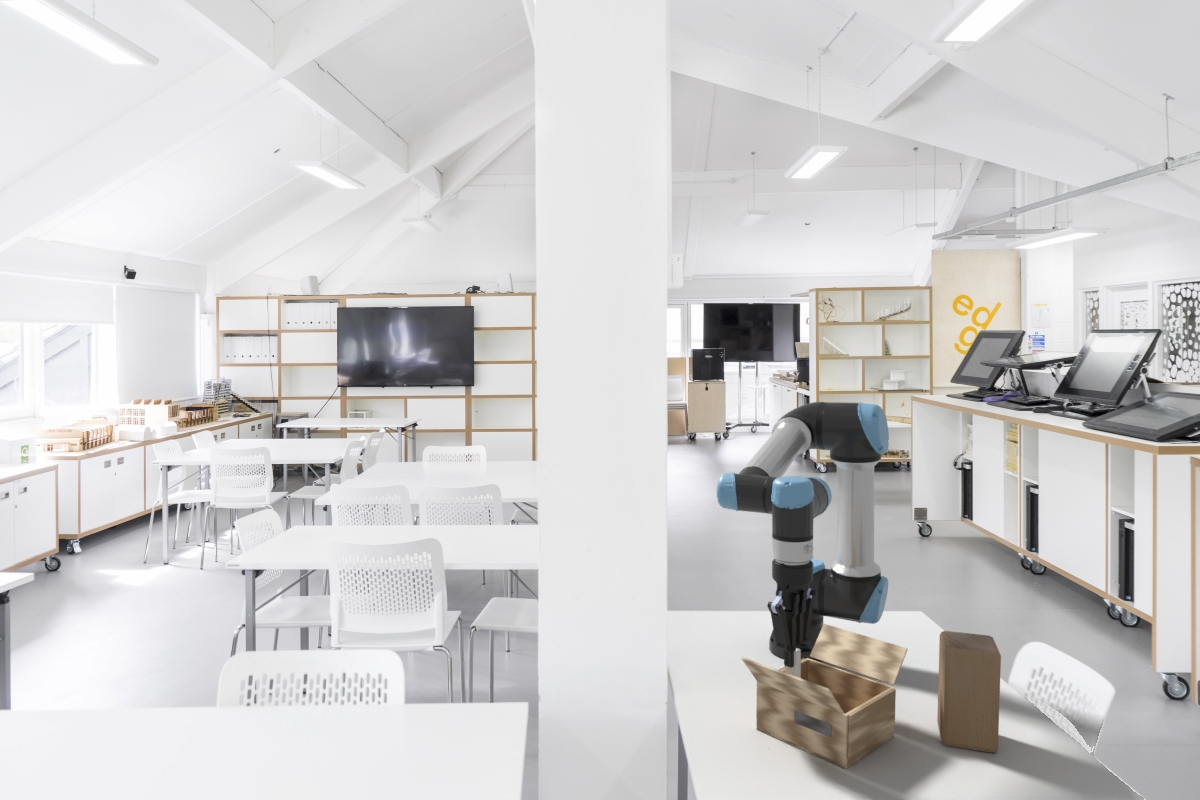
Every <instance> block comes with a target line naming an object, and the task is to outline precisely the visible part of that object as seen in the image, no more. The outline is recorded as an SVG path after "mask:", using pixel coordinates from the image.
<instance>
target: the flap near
mask: <svg viewBox="0 0 1200 800" xmlns="http://www.w3.org/2000/svg"><path fill="white" fill-rule="evenodd" d="M741 661H742V662H743V663H744V665H745V666H746V667H747V669H748V670H749V672H750V673H751V674H752V676H753V677H754V679H755V681H756V682H757V681H758V682H760V683H763V684H765V685H768V686H770V687H773V688H776V689H778V690H781V691H783V692H786V693H788V694H791V695H794V696H796V697H799V698H801V699H804V700H806V701H809V702H812V703H814V704H817V705H819V706H822V707H825V708H827V709H830V710H832V711H835V712H837V713H840V714H844V712H843V710H842V709H841V707H840V706H839V704H838V702H837V701H836V699H835V698H834V696H833V694H832V693H831V691H830V690H829V689H828V688H826V687H823V686H820V685H817V684H815V683H812V682H809V681H807V680H804V679H801V678H798V677H796V676H793V675H790V674H787V673H785V672H782V671H779V669H776V668H773V667H771V666H768V665H766V664H763V663H760V662H757V661H754V660H751V659H749V658H746V657H744V656H742V657H741Z"/></svg>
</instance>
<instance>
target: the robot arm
mask: <svg viewBox="0 0 1200 800" xmlns="http://www.w3.org/2000/svg"><path fill="white" fill-rule="evenodd" d="M889 437H890V434H889V425H888V420H887V417H886V414H885V412H884V410H883V408H882V407H881V406H880V405H878V404H873V403H864V402H842V401H841V402H838V401H837V402H836V401H834V402H831V401H829V402H827V401H826V402H825V401H815V402H809V403H805V404H803V405H800V406H798V407H796V408H794V409H791V410H790V411H788V412H787V413H786V414H784V415H782V416H781V417H780V418H779V419H778V420H777V422H776V423H774V425H773V427H772V430H771V434H770V436H769V438H767V440H766V441H765V443H764V444H763V445H762V446H760V448H759V449H758V450H757V451H756V453H755V454H754V455H753V456H752V457H751V459H750V460H749V461H748V462H747V463H746V465H745V466H744V467H743V468H742V470H741V471H740V472H739V473H735V472H729V473H728V472H726V473H723V474H721V476H720V477H719V479H718V481H717V485H716V498H717V499H716V500H717V502H718V504H719V506H720V507H721V508H723V509H726V510H731V511H735V512H738V511H739V512H746V513H747V512H750V513H757V514H759V513H760V514H769V515H771V524H772V525H771V528H772V529H771V533H772V534H771V557H772V558H773V559H772V561H771V572H772V573H771V577H772V579H773V581H775V583H776V590H775V596H776V597H775V599H774V600H773V602H772V601H768V603H767V609H768V610H769V613H770V616H771V623H772V627H773V628H772V632H771V634H770V637H769V639H768V640H769V643H768V644H769V645H768V646H769V647H768V649H769V651H770V652H771V653H772V654H773V655H775V656H776V657H779V658H781V659H783V664H784V667H785V673H787V674H790V675H793V676H796V677H798V678H801V659H803V658H805V659H807V658H809V659H812V660H815V661H818V662H821V660H818V659H815V658H812V657H810V654H811V652H812V650H813V647H814V645H815V643H816V640H817V638H818V636H819V633H820V631H821V629H822V627H823V624H824V617H828V618H832V619H833V618H834V619H840V620H845V621H850V622H856V623H858V624H861V623H862V624H869V625H870V624H871V625H872V624H873V625H875V624H877V623H878V622H879V621H880V620H881V618H882V616H883V613H884V610H885V605H886V603H887V602H886V601H887V598H888V597H887V596H888V592H889V579H888V577H885V576H884V575H882V574H881V573H882V570H881V566H880V565H878V563H876V562H875V466H877V465H878V463H880V462H881V461H882V455H884V454H886V453H887V452H888V450H889V446H890V445H889V439H890V438H889ZM808 450H823V451H829V455H830V456H829V459H830V461H832V462H833V463H834V465H836V466H835V467H836V519H837V520H836V540H837V541H836V547H837V548H836V550H837V551H836V553H837V554H836V555H837V556H836V559H835V560H834V561H833V562H832V563H831V564H830V568H826V565H825V563H824V561H822V560H819V559H816V558H814V519H815V518H817V517H819V516H820V515H823V513H825V512H826V510H827V509H828V507H829V506H830V504H831V502H832V498H833V495H832V490H831V488H830V486H829V485H828V483H827V482H826V481H825V480H823V479H822V478H820V477H817V476H797V475H787V476H785V475H784V474H785V473H786V472H787V471H788V469H789V468H790V466H791V465H792V463H793V462H794V461H795V460H796V458H797V457H798V456H799V455H802V454H804V453H806V451H808Z"/></svg>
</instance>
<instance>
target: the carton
mask: <svg viewBox="0 0 1200 800" xmlns="http://www.w3.org/2000/svg"><path fill="white" fill-rule="evenodd" d="M778 670H779V671H782V672H785V666H783V667H782V668H779V669H778ZM801 679H804V680H807V681H809V682H812V683H815V684H817V685H820V686H823V687H826V688H828V689H829V690H830V691H831V693H832V694H833V696H834V698H835V699H836V701H837V702H838V704H839V706H840V707H841V709H842V710H843V712H844V714H840V713H837V712H835V711H832V710H830V709H827V708H825V707H822V706H819V705H817V704H814V703H812V702H809V701H806V700H804V699H801V698H799V697H796V696H794V695H791V694H788V693H786V692H783V691H781V690H778V689H776V688H773V687H770V686H768V685H765V684H763V683H760V682H758V681H757V680H756V714H755V715H756V717H755V718H756V728H755V729H756V730H757V731H760V732H762V733H764V734H766V735H768V736H770V737H773V738H775V739H777V740H780V741H782V742H783V743H786V744H788V745H791V746H793V747H795V748H797V749H800V750H802V751H804V752H806V753H808V754H811V755H813V756H815V757H818V758H820V759H822V760H825V761H826V762H828V763H831V764H834V765H836V766H837V767H840V768H842V769H844V770H846V769H848V768H849V767H850V766H852V765H854V764H855V763H857V762H858V761H860V760H861V759H862V758H864V757H866V756H867V755H869V754H870V753H872V752H873V751H874V750H876V749H878V748H879V747H881V746H882V745H883V744H885V743H886V742H888V741H889V740H891V739H892V738H894V734H895V729H896V722H895V721H896V699H897V698H896V693H897V689H896V688H895V687H894V686H891V685H888V684H885V683H882V682H879V681H876V680H873V679H872V678H871V679H870V678H867V677H865V676H862V675H859V674H857V673H856V674H855V673H853V672H850V671H847V670H844V669H842V668H838V667H835V666H832V665H829V664H828V663H823V662H821V661H815V660H812V659H809V658H807V659H805V658H803V659H801Z"/></svg>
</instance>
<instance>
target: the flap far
mask: <svg viewBox="0 0 1200 800" xmlns="http://www.w3.org/2000/svg"><path fill="white" fill-rule="evenodd" d="M907 652H908V648H907V647H905V646H900V645H899V644H894V643H890V642H887V641H884V640H881V639H877V638H874V637H870V636H867V635H863V634H861V633H857V632H853V631H851V630H847V629H843V628H840V627H837V626H833V625H830V624H826V623H823V627H822V629H821V631H820V633H819V636H818V638H817V640H816V643H815V645H814V647H813V650H812V652H811V654H810V657H812V658H815V659H818V660H821V661H822V662H825V663H826V664H830V665H833V666H837V667H839V668H841V669H845V670H848V671H851V672H854V673H856V674H858V675H859V674H860V675H861V676H862V675H863V676H864V677H865V676H866V677H869V678H871V679H875V680H878V681H880V682H884V683H886V684H890V685H892V686H894V685H895V684H896V682H897V679H898V676H899V673H900V671H901V668H902V666H903V663H904V660H905V657H906V656H907ZM821 661H820V662H821Z"/></svg>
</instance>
